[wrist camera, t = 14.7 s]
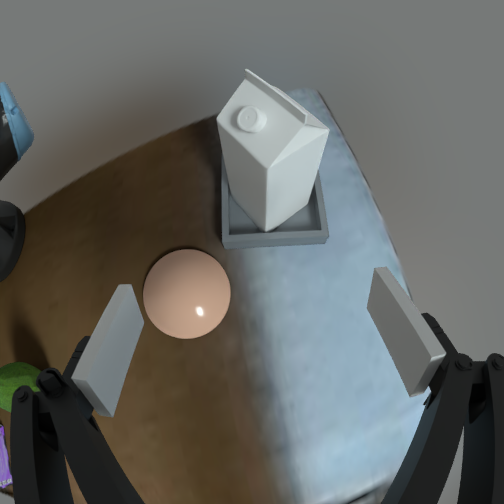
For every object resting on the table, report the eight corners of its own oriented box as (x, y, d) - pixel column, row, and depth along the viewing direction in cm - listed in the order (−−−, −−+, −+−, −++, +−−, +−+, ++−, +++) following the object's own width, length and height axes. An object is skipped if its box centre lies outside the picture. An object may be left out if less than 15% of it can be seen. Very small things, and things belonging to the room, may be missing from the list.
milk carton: (272, 168, 39) (278, 55, 21) (307, 204, 37) (339, 97, 19) (231, 197, 38) (208, 86, 20) (265, 236, 36) (267, 136, 18)
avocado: (62, 368, 32) (4, 369, 21) (64, 418, 30) (10, 432, 19) (27, 357, 33) (-28, 354, 21) (29, 404, 30) (-24, 410, 19)
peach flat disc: (130, 307, 35) (128, 306, 34) (175, 236, 37) (173, 234, 37) (200, 355, 33) (199, 356, 32) (247, 278, 36) (247, 277, 35)
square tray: (224, 249, 37) (222, 241, 34) (224, 165, 40) (221, 153, 38) (324, 243, 37) (329, 236, 34) (311, 161, 40) (314, 150, 38)
